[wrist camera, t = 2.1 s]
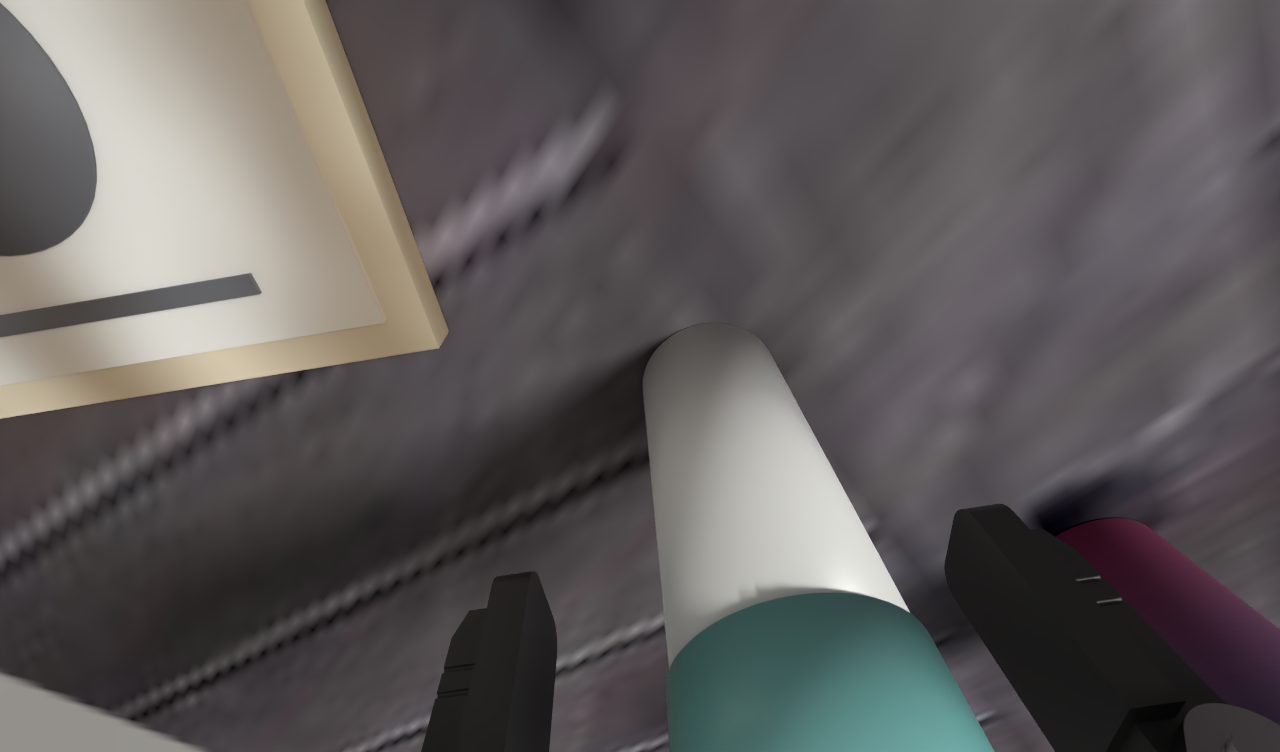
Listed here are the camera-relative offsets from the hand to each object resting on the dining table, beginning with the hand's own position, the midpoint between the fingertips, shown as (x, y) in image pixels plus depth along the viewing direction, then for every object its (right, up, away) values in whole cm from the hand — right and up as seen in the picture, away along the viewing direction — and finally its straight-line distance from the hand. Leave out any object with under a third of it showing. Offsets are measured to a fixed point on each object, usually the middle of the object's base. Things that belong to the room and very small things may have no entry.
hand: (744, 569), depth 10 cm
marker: (0, +4, +6) cm, 7 cm away
